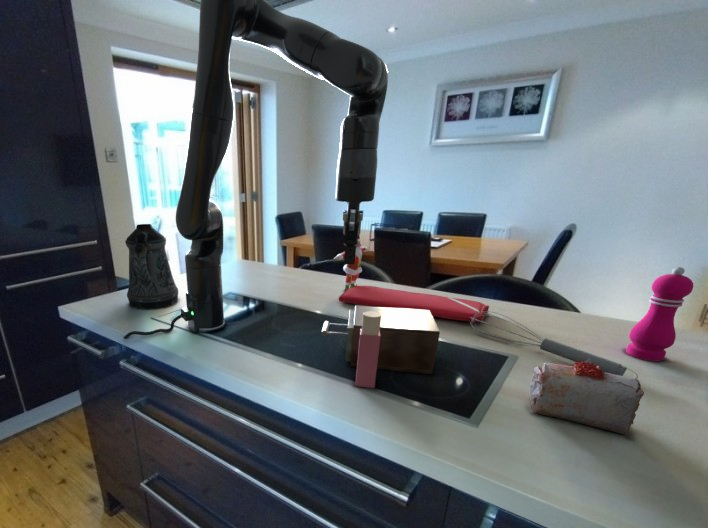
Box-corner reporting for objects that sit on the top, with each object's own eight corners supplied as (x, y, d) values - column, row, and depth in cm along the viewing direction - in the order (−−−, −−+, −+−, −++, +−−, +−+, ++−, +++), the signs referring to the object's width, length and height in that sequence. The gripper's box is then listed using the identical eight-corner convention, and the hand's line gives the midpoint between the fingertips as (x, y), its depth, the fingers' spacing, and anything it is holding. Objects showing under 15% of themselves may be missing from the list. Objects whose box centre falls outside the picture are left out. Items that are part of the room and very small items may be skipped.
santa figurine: (341, 299, 129) (345, 242, 122) (325, 296, 132) (328, 241, 125) (373, 284, 147) (378, 233, 139) (358, 281, 150) (363, 232, 143)
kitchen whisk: (630, 387, 75) (641, 357, 72) (462, 333, 101) (467, 310, 99) (641, 378, 78) (652, 349, 75) (476, 328, 104) (480, 306, 102)
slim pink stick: (355, 386, 76) (362, 316, 71) (355, 378, 79) (362, 310, 73) (374, 388, 75) (382, 317, 70) (374, 380, 78) (381, 312, 73)
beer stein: (169, 292, 140) (162, 220, 130) (189, 306, 125) (182, 226, 115) (123, 299, 132) (111, 223, 123) (137, 315, 117) (125, 230, 107)
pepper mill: (655, 350, 89) (691, 264, 82) (674, 364, 83) (715, 272, 75) (616, 347, 92) (648, 262, 84) (632, 359, 85) (668, 269, 78)
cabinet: (350, 366, 84) (353, 325, 80) (352, 342, 96) (355, 305, 93) (432, 374, 80) (440, 331, 77) (423, 348, 92) (429, 310, 89)
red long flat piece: (357, 291, 138) (358, 281, 136) (488, 312, 115) (490, 300, 114) (338, 302, 126) (338, 291, 125) (479, 328, 104) (481, 315, 102)
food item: (525, 414, 67) (540, 363, 63) (525, 394, 73) (539, 346, 69) (630, 441, 60) (654, 385, 56) (621, 416, 66) (642, 364, 62)
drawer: (318, 358, 86) (320, 325, 83) (323, 337, 97) (325, 307, 94) (420, 368, 81) (426, 333, 78) (414, 344, 92) (418, 313, 89)
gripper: (338, 175, 83) (333, 257, 89) (334, 175, 71) (329, 269, 78) (375, 175, 81) (367, 258, 88) (377, 175, 69) (367, 271, 76)
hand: (349, 263), depth 83 cm, fingers closed
